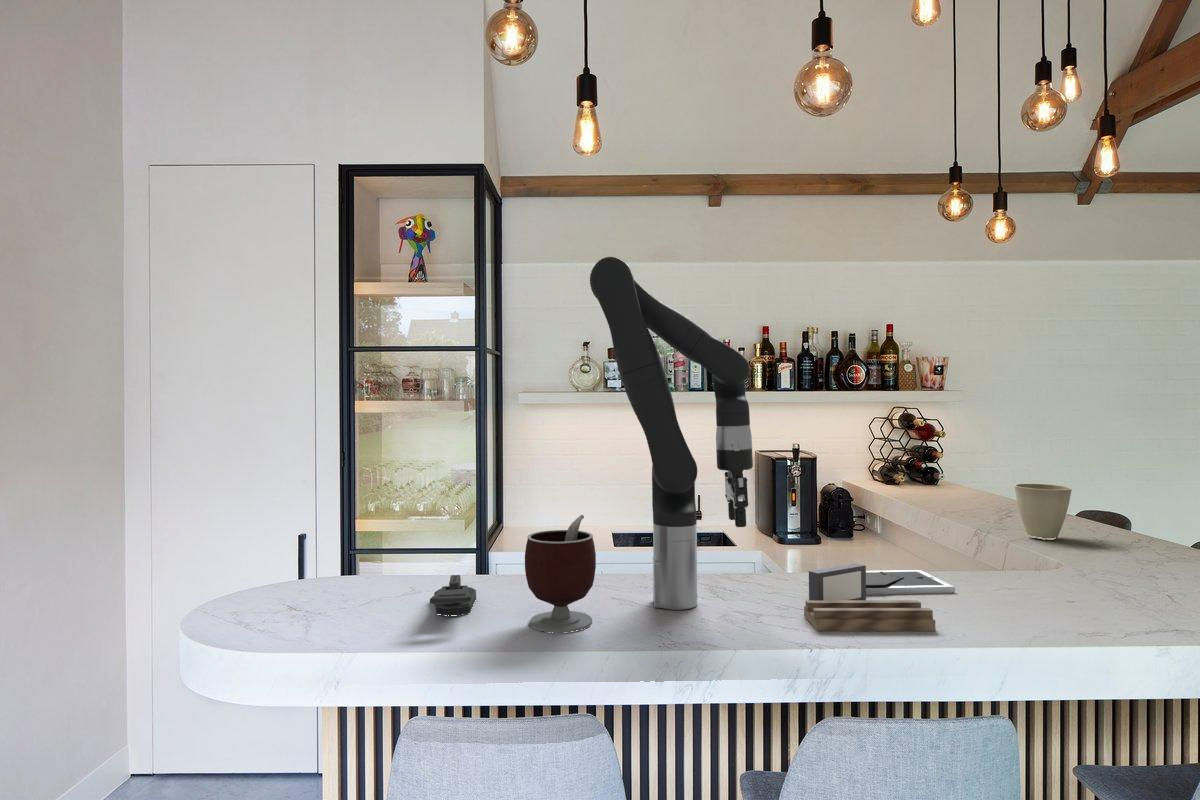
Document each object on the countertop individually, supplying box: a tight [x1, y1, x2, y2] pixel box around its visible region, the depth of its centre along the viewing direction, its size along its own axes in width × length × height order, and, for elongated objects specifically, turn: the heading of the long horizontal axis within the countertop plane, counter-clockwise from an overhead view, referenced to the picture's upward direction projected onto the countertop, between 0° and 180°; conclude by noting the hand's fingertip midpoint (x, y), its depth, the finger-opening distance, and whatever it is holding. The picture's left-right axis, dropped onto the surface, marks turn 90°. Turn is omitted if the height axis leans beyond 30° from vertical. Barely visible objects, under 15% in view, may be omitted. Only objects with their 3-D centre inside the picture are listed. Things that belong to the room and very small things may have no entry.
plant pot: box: [1014, 483, 1072, 538], centre depth 219 cm, size 15×15×16 cm
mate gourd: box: [524, 514, 597, 634], centre depth 140 cm, size 16×14×20 cm
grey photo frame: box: [808, 562, 867, 600], centre depth 150 cm, size 14×2×8 cm, turn 119°
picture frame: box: [866, 569, 956, 595], centre depth 167 cm, size 16×3×21 cm
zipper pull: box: [429, 574, 477, 616], centre depth 147 cm, size 9×7×25 cm
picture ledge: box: [803, 599, 936, 632], centre depth 138 cm, size 22×9×4 cm, turn 89°
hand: (737, 523), depth 152 cm, fingers open, 8 cm apart
